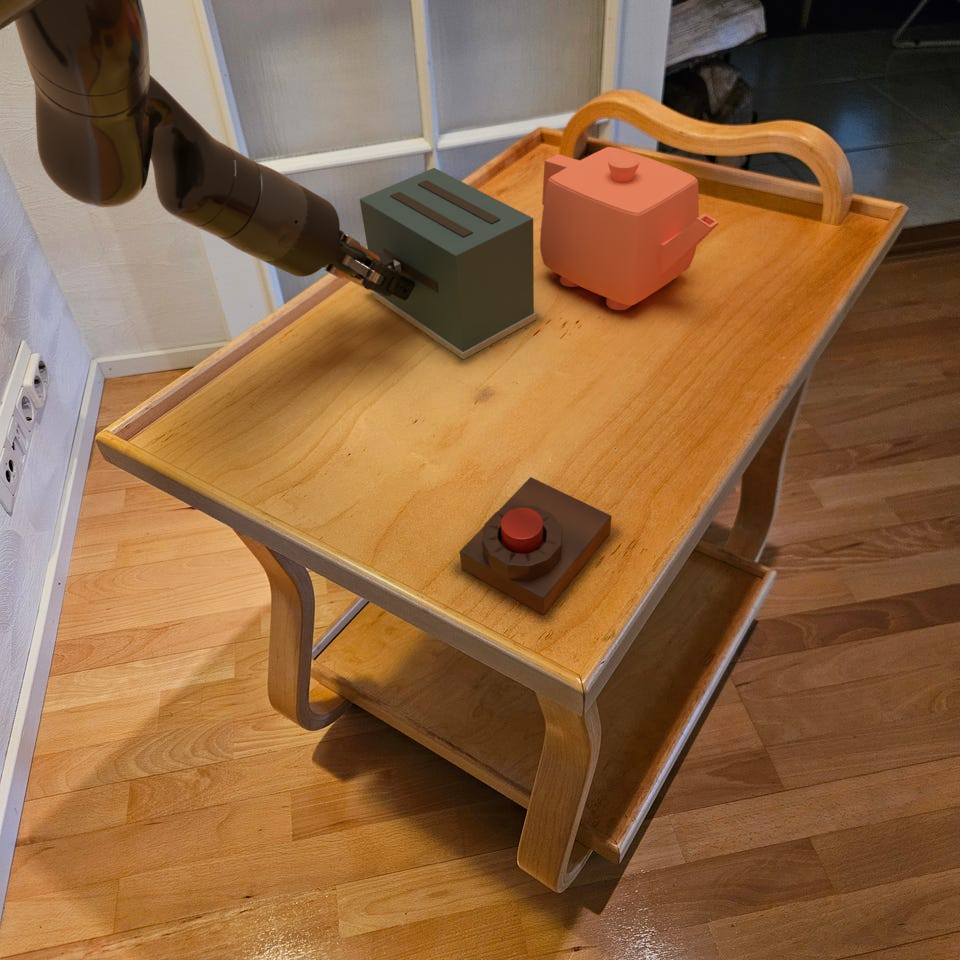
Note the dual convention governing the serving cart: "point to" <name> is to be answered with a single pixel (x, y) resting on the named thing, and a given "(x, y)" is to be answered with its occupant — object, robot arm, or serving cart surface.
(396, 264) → the slider
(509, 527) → the power button
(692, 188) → the teapot
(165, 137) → the robot arm
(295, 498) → the serving cart surface
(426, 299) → the toaster
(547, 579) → the switch block
